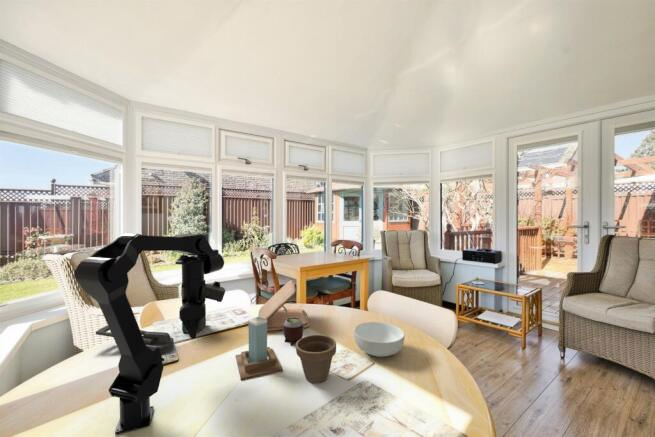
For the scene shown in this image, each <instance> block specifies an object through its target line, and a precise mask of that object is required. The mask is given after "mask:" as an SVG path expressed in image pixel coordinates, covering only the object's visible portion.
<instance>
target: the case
mask: <svg viewBox="0 0 655 437" xmlns="http://www.w3.org/2000/svg"><path fill="white" fill-rule="evenodd" d="M296 287H297V286H296V284H295V283H294V281H293V280H292V279H290V280H288V281H287V282H286V283H285V284H284V285H282V287H281V288H279V289H278V291H276V292H275V294H273V295H272V297H270V298H269V300H267V301H266V302H265V303H264V304H263V305H262V306H261V307H260V308H259V310H258V316H257V317H262V318H264V319H267V332H276V331H284V330H283V326H284V323H285V321H286V320H287V319H288V318H287V315H286V312H285V310H284V309H281V308H283V307H282V306H285V304H287V303H288V302H289V301H290V300H291V299H292V298H293V296H295V294H296V292H297V289H296ZM280 304H281V305H282V306H280ZM287 313H288V316H289V318H293V317H294V318H299V319H300V320H301V321H302V324H303V329H307V328H309V327H310V322H309V318H308V315H307V314H306V311H305V310H304V309H301V308H300V309H297V308H295V309H287Z"/></svg>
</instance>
